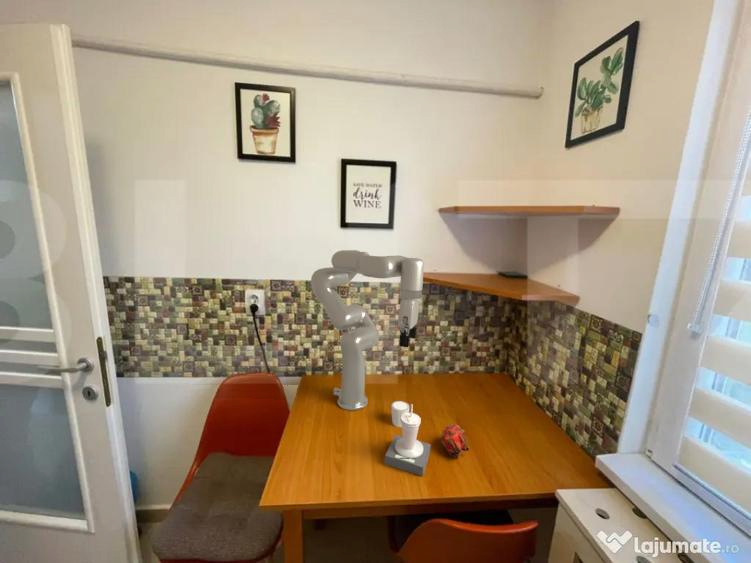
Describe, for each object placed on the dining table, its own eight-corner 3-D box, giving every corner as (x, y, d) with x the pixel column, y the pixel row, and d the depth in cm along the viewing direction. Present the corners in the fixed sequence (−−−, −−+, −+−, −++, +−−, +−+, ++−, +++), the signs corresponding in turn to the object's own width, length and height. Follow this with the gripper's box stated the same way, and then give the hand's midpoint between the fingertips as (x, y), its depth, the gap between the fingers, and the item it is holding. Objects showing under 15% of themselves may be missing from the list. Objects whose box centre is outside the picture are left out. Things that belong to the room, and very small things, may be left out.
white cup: (389, 417, 121) (390, 400, 120) (406, 417, 122) (407, 400, 120) (391, 428, 114) (392, 410, 113) (410, 428, 115) (411, 410, 114)
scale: (384, 464, 96) (385, 453, 96) (395, 442, 107) (395, 432, 106) (422, 476, 92) (423, 465, 92) (430, 452, 102) (430, 442, 102)
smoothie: (420, 442, 101) (423, 402, 99) (416, 455, 96) (419, 413, 93) (401, 437, 104) (404, 398, 101) (396, 449, 98) (398, 408, 95)
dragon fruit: (451, 441, 111) (457, 470, 100) (433, 428, 110) (437, 456, 99) (468, 426, 109) (476, 455, 97) (449, 413, 108) (455, 440, 96)
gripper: (406, 289, 116) (404, 333, 118) (392, 297, 100) (389, 348, 102) (426, 291, 113) (423, 336, 116) (415, 300, 97) (411, 352, 100)
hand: (407, 342), depth 109 cm, fingers open, 9 cm apart
